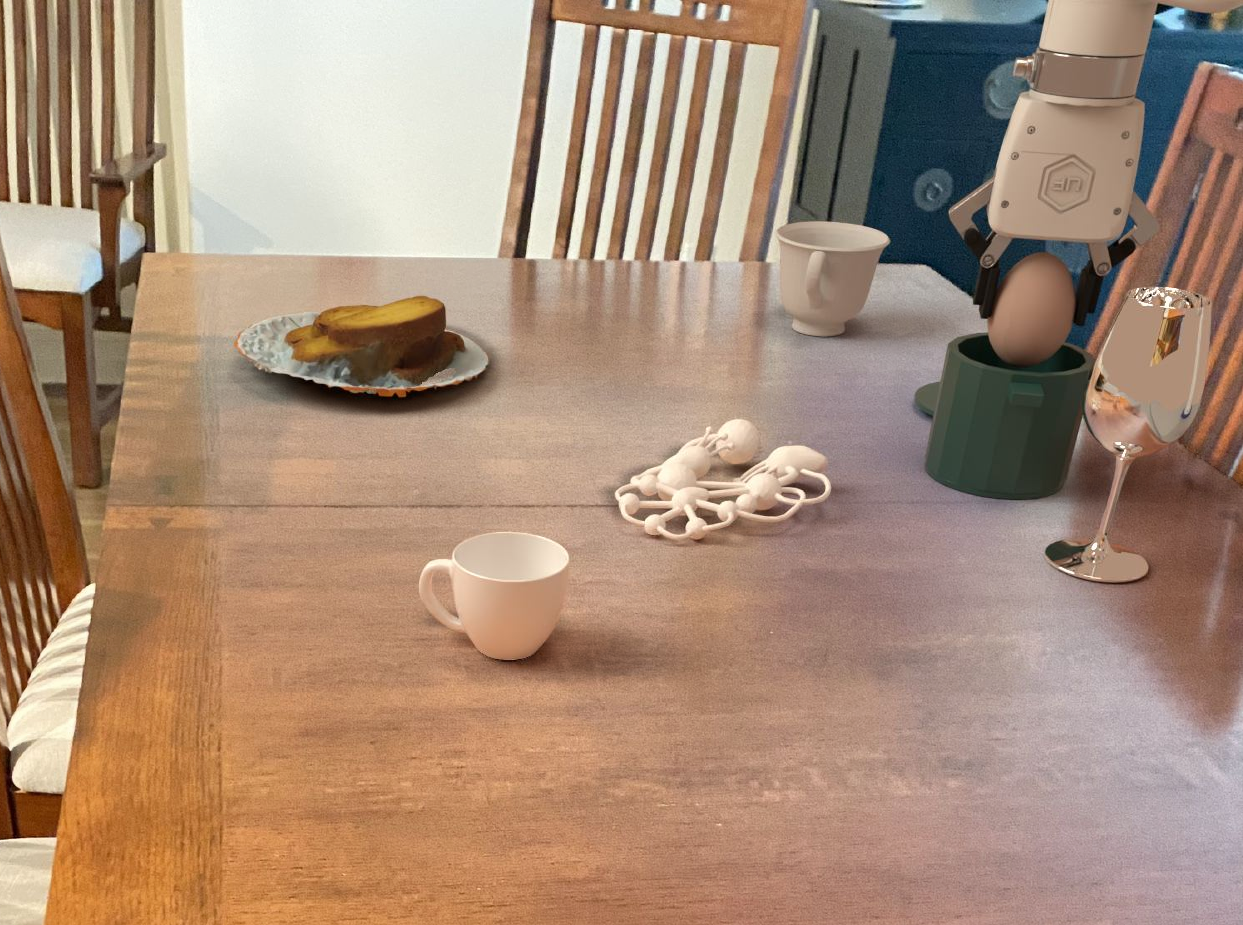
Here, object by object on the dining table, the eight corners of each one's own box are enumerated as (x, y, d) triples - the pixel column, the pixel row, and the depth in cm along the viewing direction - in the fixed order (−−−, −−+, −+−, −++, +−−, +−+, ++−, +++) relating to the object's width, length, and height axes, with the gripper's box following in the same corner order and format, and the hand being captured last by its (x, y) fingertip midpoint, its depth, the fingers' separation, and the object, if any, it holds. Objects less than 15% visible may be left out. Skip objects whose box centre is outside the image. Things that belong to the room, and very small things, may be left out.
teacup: (745, 344, 160) (757, 247, 154) (775, 308, 172) (787, 216, 166) (859, 359, 156) (876, 260, 151) (882, 321, 168) (898, 228, 162)
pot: (1052, 445, 136) (1082, 329, 130) (1075, 518, 122) (1108, 391, 116) (920, 433, 138) (943, 318, 132) (928, 503, 124) (954, 378, 119)
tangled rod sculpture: (707, 580, 114) (715, 531, 112) (570, 508, 122) (575, 462, 120) (856, 508, 125) (867, 462, 122) (721, 446, 133) (729, 402, 130)
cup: (555, 679, 99) (561, 586, 95) (407, 663, 100) (407, 571, 96) (570, 626, 105) (576, 537, 101) (430, 612, 106) (431, 523, 103)
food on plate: (278, 326, 163) (276, 264, 159) (505, 343, 159) (508, 280, 156) (204, 402, 142) (199, 332, 138) (463, 424, 138) (465, 353, 135)
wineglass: (1020, 550, 117) (1085, 288, 106) (1097, 535, 119) (1168, 277, 108) (1092, 591, 111) (1169, 318, 100) (1172, 574, 114) (1256, 306, 102)
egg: (1078, 370, 124) (1106, 256, 119) (1025, 384, 121) (1052, 267, 116) (1013, 349, 129) (1038, 238, 124) (961, 361, 126) (984, 249, 121)
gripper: (968, 79, 111) (922, 322, 121) (1218, 91, 108) (1149, 340, 118) (962, 65, 117) (919, 297, 127) (1198, 76, 114) (1135, 313, 124)
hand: (1030, 316), depth 123 cm, fingers closed on egg, 6 cm apart
